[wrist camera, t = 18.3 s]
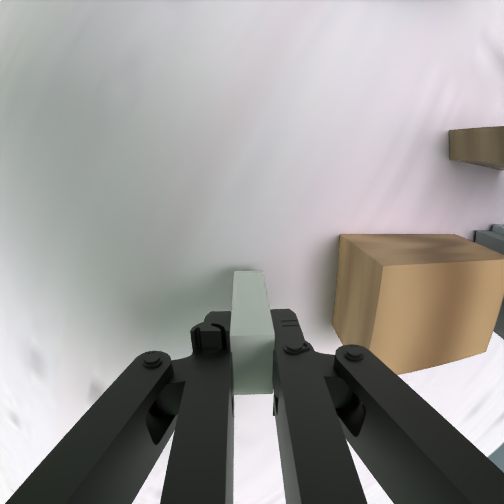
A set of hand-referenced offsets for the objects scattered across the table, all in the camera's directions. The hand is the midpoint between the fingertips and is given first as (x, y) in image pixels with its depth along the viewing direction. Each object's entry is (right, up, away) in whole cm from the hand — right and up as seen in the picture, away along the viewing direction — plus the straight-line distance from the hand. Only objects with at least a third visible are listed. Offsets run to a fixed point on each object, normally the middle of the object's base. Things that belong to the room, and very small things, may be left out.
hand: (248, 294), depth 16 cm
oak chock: (+10, +1, +2) cm, 10 cm away
